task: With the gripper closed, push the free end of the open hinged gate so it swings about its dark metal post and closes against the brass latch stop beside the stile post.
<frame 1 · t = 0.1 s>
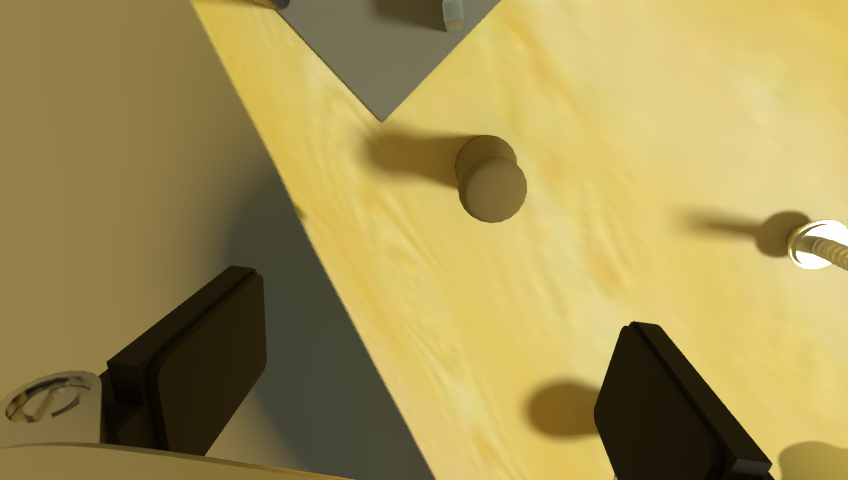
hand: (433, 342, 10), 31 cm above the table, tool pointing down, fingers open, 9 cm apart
screw: (800, 236, 39), on the table
cork: (485, 166, 40), on the table
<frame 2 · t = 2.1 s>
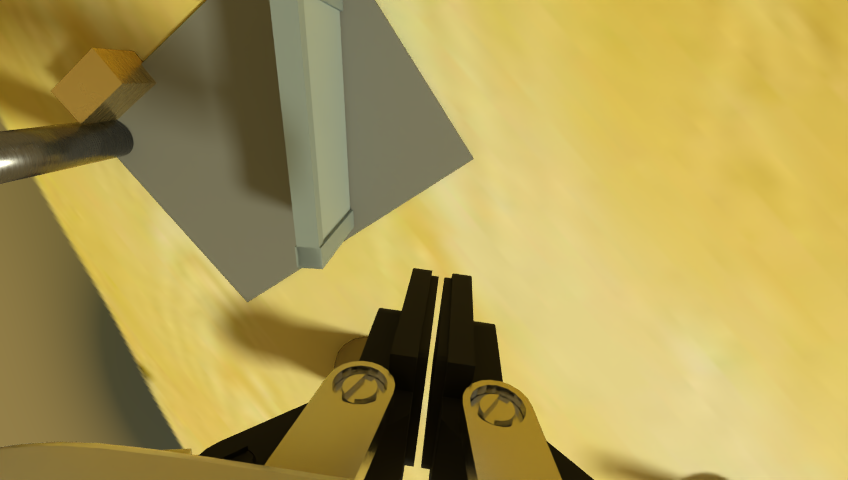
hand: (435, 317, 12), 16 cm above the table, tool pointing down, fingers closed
stile: (119, 137, 27), on the table
gate: (319, 124, 22), point 4 cm above the table, hinge at 55.0°
cork: (372, 366, 32), on the table
mat: (275, 138, 26), on the table
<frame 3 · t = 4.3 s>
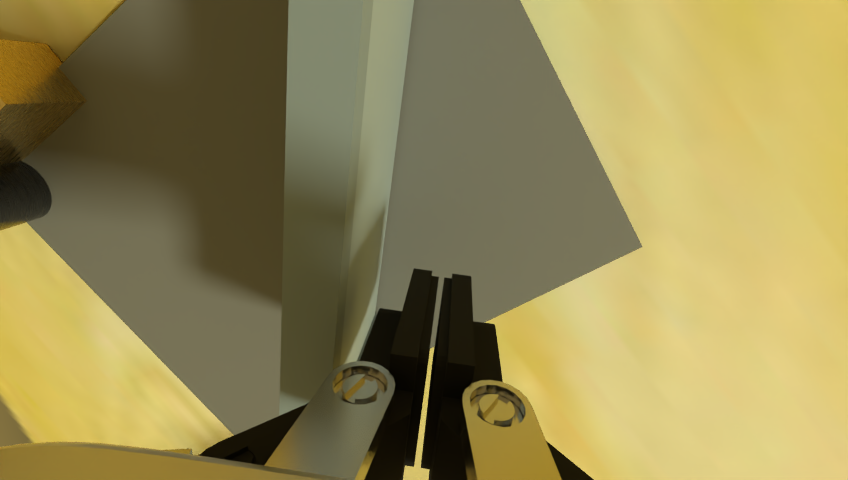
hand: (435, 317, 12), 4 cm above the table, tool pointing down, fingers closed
stile: (29, 187, 16), on the table
gate: (355, 193, 11), point 4 cm above the table, hinge at 48.6°, touching gripper
mat: (293, 199, 15), on the table
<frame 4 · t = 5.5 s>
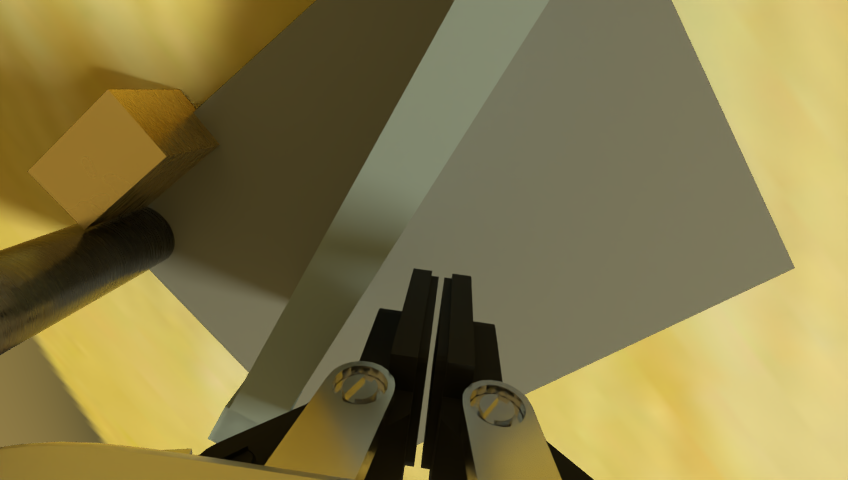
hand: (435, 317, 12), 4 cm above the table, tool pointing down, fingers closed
stile: (150, 232, 16), on the table
gate: (397, 182, 10), point 4 cm above the table, hinge at 23.4°, touching gripper
mat: (424, 233, 15), on the table
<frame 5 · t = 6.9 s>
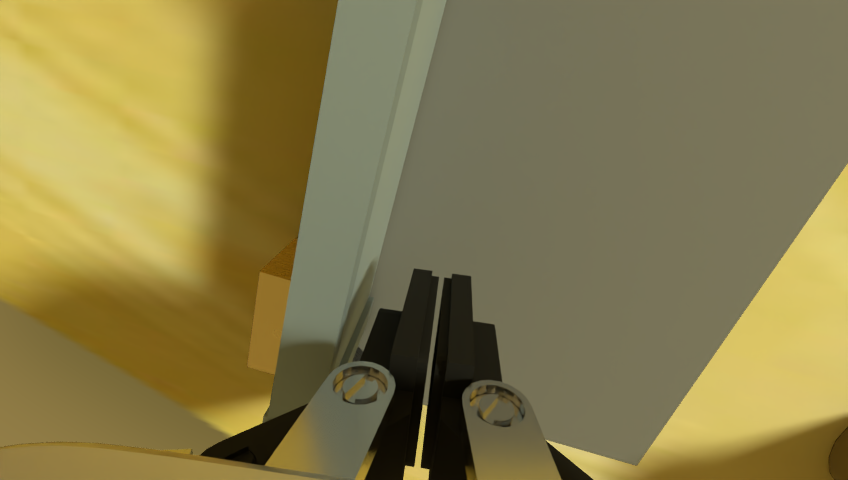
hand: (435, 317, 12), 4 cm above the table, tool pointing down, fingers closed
stile: (342, 357, 18), on the table
gate: (372, 168, 11), point 4 cm above the table, hinge at 0.0°, touching gripper, stile
mat: (552, 209, 14), on the table
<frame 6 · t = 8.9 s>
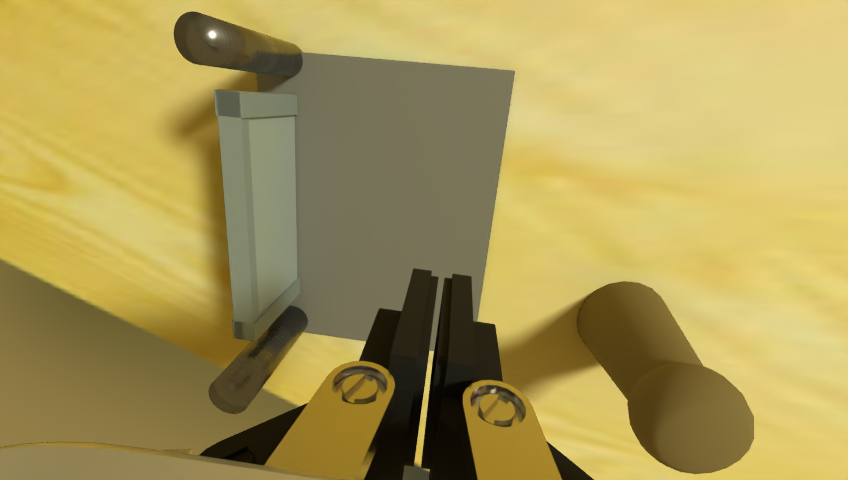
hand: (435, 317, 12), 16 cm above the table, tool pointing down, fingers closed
stile: (294, 317, 31), on the table
gate: (266, 213, 25), point 4 cm above the table, hinge at 0.0°, touching stile
cork: (620, 319, 28), on the table
mat: (375, 216, 28), on the table
hinge post: (289, 60, 25), on the table
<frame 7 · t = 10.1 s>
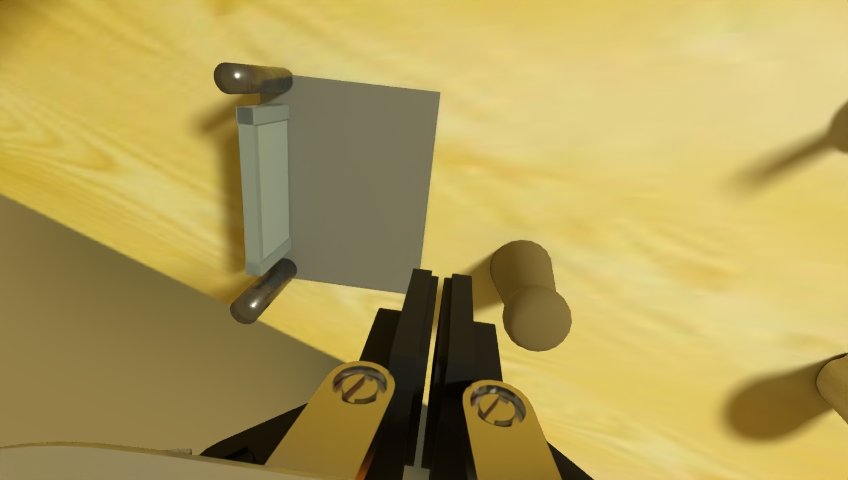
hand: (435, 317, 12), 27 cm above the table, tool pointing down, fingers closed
stile: (287, 267, 42), on the table
flower pot: (847, 374, 41), on the table
gate: (267, 188, 35), point 4 cm above the table, hinge at 0.0°, touching stile
cork: (520, 267, 40), on the table
mat: (345, 192, 39), on the table
hinge post: (283, 80, 36), on the table
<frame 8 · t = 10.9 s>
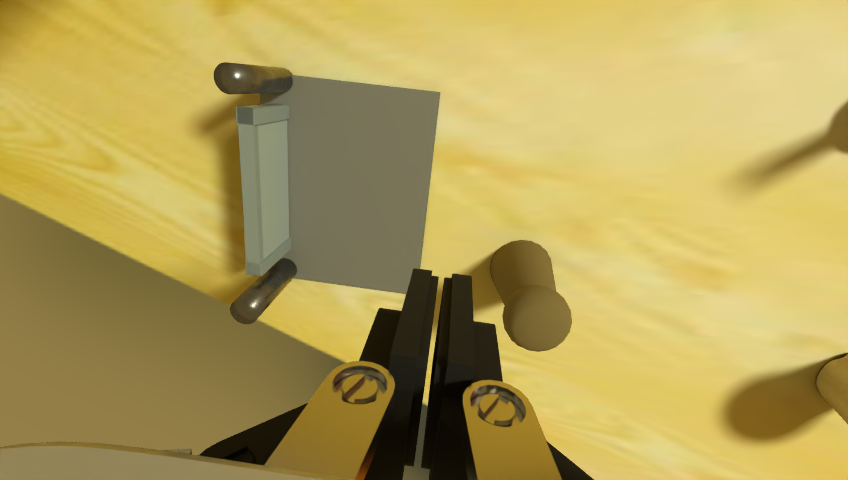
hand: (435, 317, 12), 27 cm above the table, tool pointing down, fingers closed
stile: (287, 267, 42), on the table
flower pot: (847, 374, 41), on the table
gate: (267, 188, 35), point 4 cm above the table, hinge at 0.0°, touching stile
cork: (520, 267, 40), on the table
mat: (345, 192, 39), on the table
hinge post: (283, 80, 36), on the table
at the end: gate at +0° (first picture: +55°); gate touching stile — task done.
